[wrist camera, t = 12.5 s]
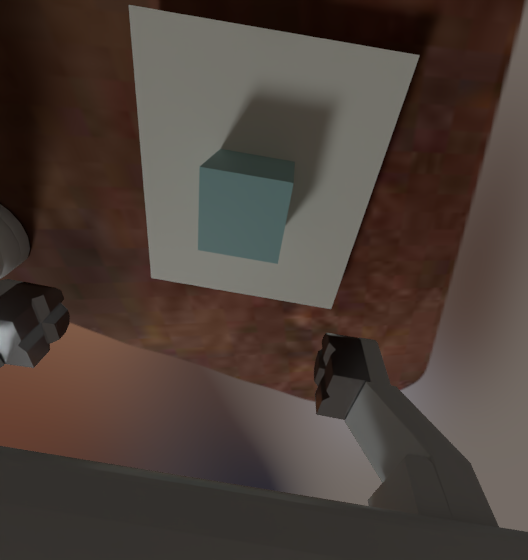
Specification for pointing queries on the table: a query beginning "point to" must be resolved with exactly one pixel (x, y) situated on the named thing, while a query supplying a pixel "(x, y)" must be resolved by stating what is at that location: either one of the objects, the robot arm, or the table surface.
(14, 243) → the bottle
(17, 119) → the table surface
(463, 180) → the table surface
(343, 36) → the table surface
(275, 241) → the teal block
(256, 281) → the cream wooden base
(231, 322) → the table surface
